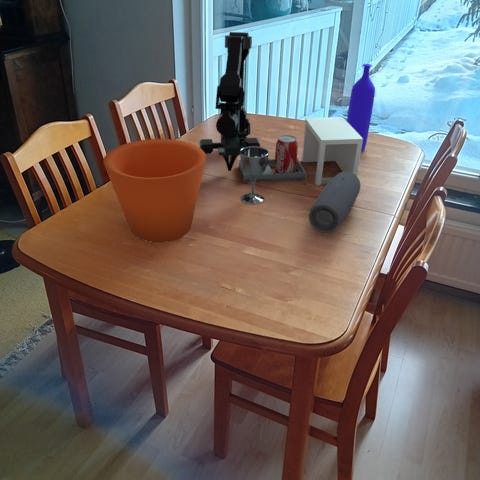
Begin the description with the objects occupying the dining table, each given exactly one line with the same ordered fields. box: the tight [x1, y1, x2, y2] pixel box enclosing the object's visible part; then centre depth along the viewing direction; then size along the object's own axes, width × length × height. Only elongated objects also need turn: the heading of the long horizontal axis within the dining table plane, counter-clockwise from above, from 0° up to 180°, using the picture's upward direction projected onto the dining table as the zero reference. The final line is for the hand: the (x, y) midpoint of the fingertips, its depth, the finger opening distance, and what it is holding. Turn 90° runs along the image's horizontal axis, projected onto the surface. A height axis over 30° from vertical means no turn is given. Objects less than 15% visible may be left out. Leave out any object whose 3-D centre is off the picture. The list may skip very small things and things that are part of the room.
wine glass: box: [239, 146, 269, 205], centre depth 138 cm, size 8×8×15 cm
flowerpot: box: [102, 138, 207, 243], centre depth 123 cm, size 25×25×20 cm
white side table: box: [301, 116, 363, 186], centre depth 156 cm, size 13×20×15 cm, turn 8°
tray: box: [238, 157, 307, 183], centre depth 157 cm, size 20×12×2 cm, turn 98°
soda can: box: [274, 134, 299, 173], centre depth 155 cm, size 7×7×12 cm
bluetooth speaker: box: [308, 171, 361, 234], centre depth 132 cm, size 23×9×10 cm, turn 155°
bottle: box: [346, 63, 376, 152], centre depth 170 cm, size 8×8×30 cm
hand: (229, 170), depth 155 cm, fingers closed
